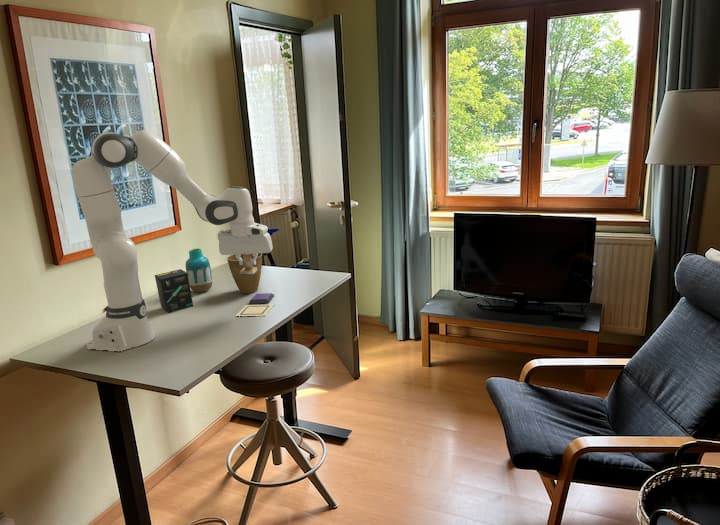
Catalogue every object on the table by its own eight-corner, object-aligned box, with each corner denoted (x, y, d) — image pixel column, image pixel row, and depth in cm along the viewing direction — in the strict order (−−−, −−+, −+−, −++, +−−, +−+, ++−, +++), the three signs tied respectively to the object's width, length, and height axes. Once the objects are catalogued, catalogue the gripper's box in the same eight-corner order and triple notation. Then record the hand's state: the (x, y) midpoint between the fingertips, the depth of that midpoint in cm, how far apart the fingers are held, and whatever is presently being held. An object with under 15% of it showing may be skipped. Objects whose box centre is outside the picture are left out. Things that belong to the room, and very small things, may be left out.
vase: (185, 294, 232) (177, 253, 227) (199, 286, 242) (192, 246, 237) (205, 295, 229) (198, 253, 224) (218, 287, 238) (212, 246, 233)
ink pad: (249, 304, 213) (249, 299, 212) (256, 297, 221) (255, 293, 220) (268, 303, 212) (268, 299, 211) (274, 296, 219) (273, 292, 219)
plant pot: (253, 297, 220) (247, 261, 216) (225, 295, 227) (219, 259, 223) (273, 286, 233) (268, 251, 229) (246, 284, 240) (241, 250, 235)
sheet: (234, 317, 200) (234, 316, 200) (245, 305, 211) (245, 304, 211) (265, 316, 198) (265, 315, 198) (274, 304, 209) (274, 304, 209)
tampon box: (186, 301, 223) (180, 268, 219) (194, 306, 216) (188, 272, 212) (160, 308, 217) (153, 274, 213) (167, 313, 210) (160, 278, 206)
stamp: (240, 275, 199) (237, 253, 196) (245, 271, 203) (242, 249, 201) (253, 275, 198) (250, 252, 195) (257, 271, 203) (254, 249, 200)
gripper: (213, 232, 194) (219, 268, 198) (266, 229, 191) (271, 266, 195) (220, 228, 200) (225, 263, 204) (271, 226, 197) (275, 261, 201)
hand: (248, 264), depth 200 cm, fingers closed on stamp, 3 cm apart
